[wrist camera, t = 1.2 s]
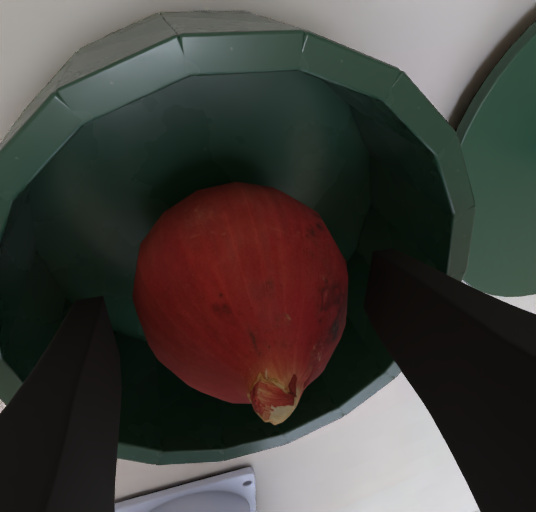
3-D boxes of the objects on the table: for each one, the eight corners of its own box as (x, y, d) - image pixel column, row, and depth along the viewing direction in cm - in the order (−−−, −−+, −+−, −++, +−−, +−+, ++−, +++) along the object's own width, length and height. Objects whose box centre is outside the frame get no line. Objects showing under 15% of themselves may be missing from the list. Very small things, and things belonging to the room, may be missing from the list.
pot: (361, 320, 20) (422, 408, 16) (68, 381, 17) (50, 507, 13) (415, 6, 13) (549, 22, 9) (-78, 15, 10) (-217, 45, 6)
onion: (292, 129, 14) (441, 266, 7) (299, 270, 17) (405, 449, 11) (109, 162, 13) (94, 357, 6) (155, 305, 16) (176, 528, 10)
